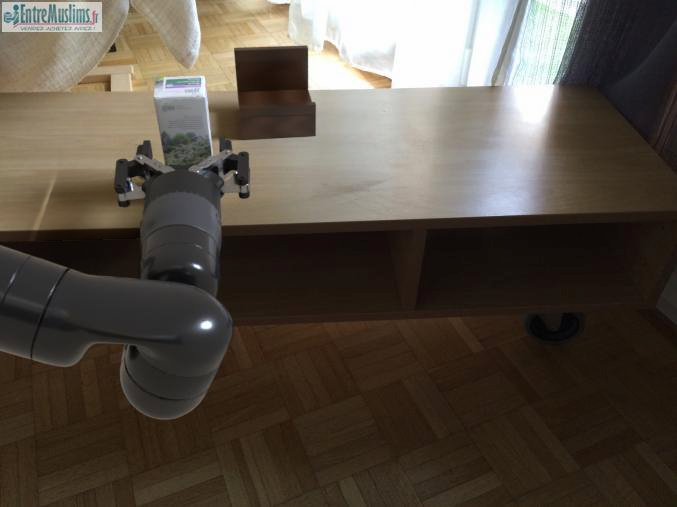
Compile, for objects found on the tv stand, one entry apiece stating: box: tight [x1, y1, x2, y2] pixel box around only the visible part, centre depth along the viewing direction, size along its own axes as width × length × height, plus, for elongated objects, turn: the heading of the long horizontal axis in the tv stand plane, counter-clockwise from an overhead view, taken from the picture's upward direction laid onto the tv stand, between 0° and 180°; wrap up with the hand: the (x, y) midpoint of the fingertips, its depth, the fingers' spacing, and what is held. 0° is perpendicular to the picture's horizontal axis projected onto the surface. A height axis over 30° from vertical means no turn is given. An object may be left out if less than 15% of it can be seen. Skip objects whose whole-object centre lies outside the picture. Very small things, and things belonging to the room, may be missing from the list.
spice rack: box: [233, 44, 317, 141], centre depth 91 cm, size 11×10×10 cm
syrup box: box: [152, 75, 214, 167], centre depth 74 cm, size 6×6×14 cm
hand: (186, 144), depth 72 cm, fingers open, 8 cm apart
